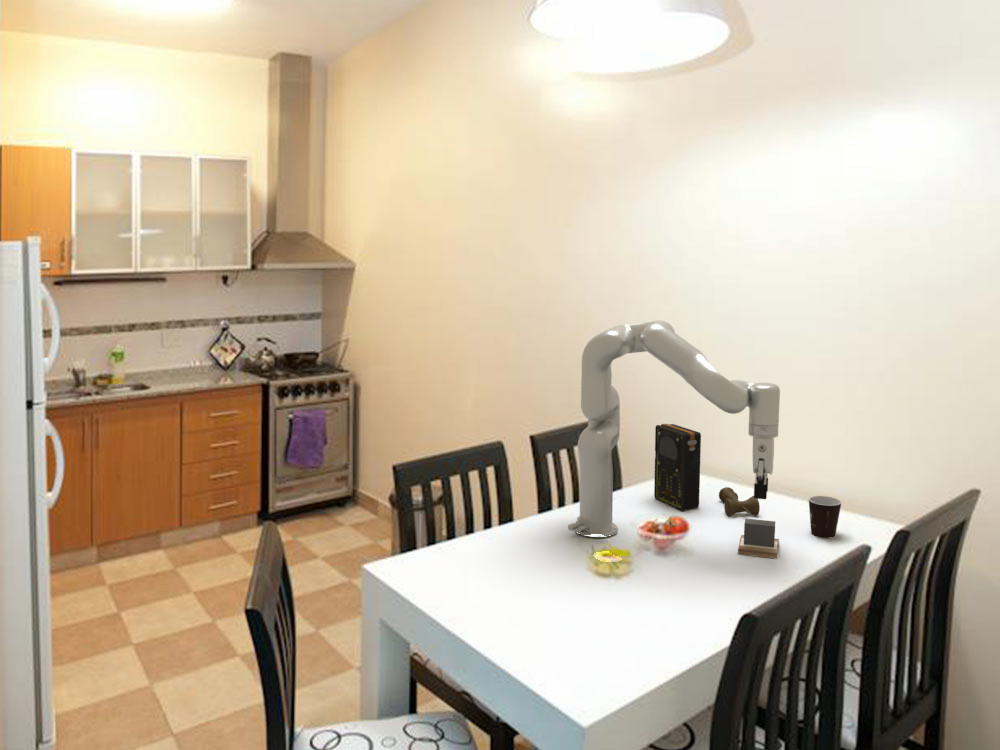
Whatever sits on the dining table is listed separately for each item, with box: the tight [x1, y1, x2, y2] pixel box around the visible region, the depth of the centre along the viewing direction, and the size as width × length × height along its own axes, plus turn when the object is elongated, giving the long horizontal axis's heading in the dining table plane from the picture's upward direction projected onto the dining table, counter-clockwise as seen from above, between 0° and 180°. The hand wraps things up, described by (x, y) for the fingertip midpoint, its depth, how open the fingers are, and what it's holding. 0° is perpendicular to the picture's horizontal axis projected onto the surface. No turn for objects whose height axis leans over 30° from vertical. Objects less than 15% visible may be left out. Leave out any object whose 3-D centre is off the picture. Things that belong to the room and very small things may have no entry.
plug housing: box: [743, 518, 776, 548], centre depth 216 cm, size 4×8×6 cm, turn 70°
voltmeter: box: [653, 423, 702, 512], centre depth 253 cm, size 16×9×25 cm, turn 25°
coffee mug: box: [808, 495, 842, 539], centre depth 225 cm, size 12×9×10 cm
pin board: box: [737, 534, 780, 559], centre depth 216 cm, size 11×10×5 cm
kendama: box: [718, 486, 761, 518], centre depth 247 cm, size 6×10×20 cm
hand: (760, 494), depth 214 cm, fingers open, 5 cm apart
